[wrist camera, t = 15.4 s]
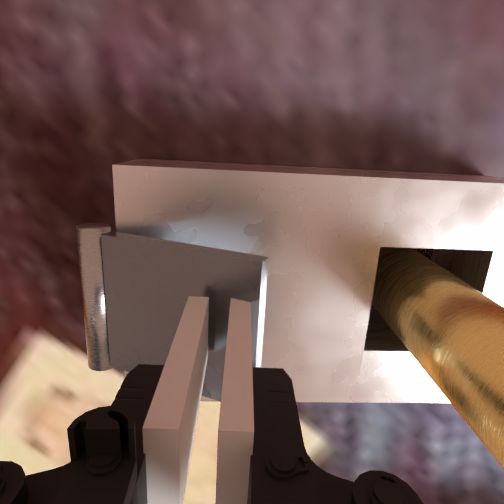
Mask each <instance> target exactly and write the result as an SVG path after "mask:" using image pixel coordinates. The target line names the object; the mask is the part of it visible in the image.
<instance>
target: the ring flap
mask: <svg viewBox="0 0 504 504" xmlns="http://www.w3.org/2000/svg"><path fill="white" fill-rule="evenodd" d="M76 234H77V245H78V256H79V267H80V278H81V289H82V300H83V311H84V322H85V333H86V344H87V355H88V365H89V368H90V369H92V370H95V371H104V370H109V369H111V368H113V367H114V368H117V369H120V370H124V371H127V372H130V371H131V370H133V369H134V368H135V367H136V366H137V365H138V364H150V365H165V363H166V360H167V357H168V354H169V351H170V348H171V346H172V343H173V340H174V337H175V334H176V331H177V328H178V326H179V323H180V320H181V317H182V314H183V311H184V309H185V306H186V303H187V300H188V297H189V296H196V297H209V316H208V359H207V365H206V371H205V377H204V383H203V389H202V394H201V396H204V397H208V398H211V399H214V400H217V401H220V402H221V396H222V385H223V375H224V364H225V354H226V343H227V333H228V322H229V311H230V301H231V298H234V299H238V300H243V301H247V302H251V331H252V367H259V368H261V360H262V346H263V331H264V316H265V301H266V287H267V272H268V257H265V256H259V255H253V254H247V253H241V252H235V251H229V250H223V249H217V248H211V247H205V246H199V245H193V244H187V243H181V242H175V241H169V240H163V239H158V238H152V237H146V236H140V235H134V234H128V233H122V232H116V231H111V225H110V224H108V223H100V222H93V223H83V224H79V225H77V226H76Z"/></svg>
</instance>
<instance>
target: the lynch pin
mask: <svg viewBox="0 0 504 504" xmlns="http://www.w3.org/2000/svg"><path fill="white" fill-rule="evenodd" d="M371 304H372V305H373V307H374V308H375V309H376V310H377V311H378V313H379V314H380V315H381V316H382V318H383V319H384V320H385V321H386V323H387V324H388V325H389V326H390V328H391V329H392V330H393V331H394V333H395V334H396V335H397V336H398V338H399V339H400V340H401V341H402V343H403V344H404V345H405V346H406V348H407V349H408V350H409V351H410V353H411V354H412V355H413V356H414V358H415V359H416V360H417V361H418V363H419V364H420V365H421V366H422V368H423V369H424V370H425V371H426V373H427V374H428V375H429V376H430V378H431V379H432V380H433V381H434V383H435V384H436V385H437V386H438V388H439V389H440V390H441V391H442V393H443V394H444V395H445V396H446V398H447V399H448V400H449V401H450V403H451V404H452V405H453V406H454V407H455V409H456V410H457V411H458V412H459V414H460V415H461V416H462V417H463V419H464V420H465V421H466V422H467V424H468V425H469V426H470V427H471V429H472V430H473V431H474V432H475V434H476V435H477V436H478V437H479V439H480V440H481V441H482V442H483V444H484V445H485V446H486V447H487V449H488V450H489V451H490V452H491V454H492V455H493V456H494V457H495V459H496V460H497V461H498V462H499V464H500V465H501V466H502V467H503V469H504V307H502V306H501V305H499V304H498V303H496V302H495V301H493V300H492V299H490V298H489V297H487V296H486V295H484V294H482V293H481V292H479V291H478V290H476V289H475V288H473V287H472V286H470V285H469V284H467V283H466V282H464V281H462V280H461V279H459V278H458V277H456V276H455V275H453V274H452V273H450V272H449V271H447V270H445V269H444V268H442V267H441V266H439V265H438V264H436V263H435V262H433V261H432V260H430V259H429V258H427V257H425V256H424V255H422V254H421V253H419V252H418V251H416V250H415V249H413V248H400V247H380V252H379V258H378V265H377V271H376V277H375V283H374V290H373V296H372V302H371Z"/></svg>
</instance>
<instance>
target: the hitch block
mask: <svg viewBox="0 0 504 504" xmlns="http://www.w3.org/2000/svg"><path fill="white" fill-rule="evenodd" d="M112 170H113V187H114V204H115V221H116V232H122V233H128V234H134V235H140V236H146V237H152V238H158V239H163V240H169V241H175V242H181V243H187V244H193V245H199V246H205V247H211V248H217V249H223V250H229V251H235V252H241V253H247V254H253V255H259V256H265V257H268V272H267V287H266V301H265V316H264V331H263V346H262V360H261V368H283V369H284V370H285V371H286V373H287V374H288V375H289V377H290V378H291V379H292V383H293V389H294V394H295V399H296V402H375V403H450V401H449V400H448V399H447V398H446V396H445V395H444V394H443V393H442V391H441V390H440V389H439V388H438V386H437V385H436V384H435V383H434V381H433V380H432V379H431V378H430V376H429V375H428V374H427V373H426V371H425V370H424V369H423V368H422V366H421V365H420V364H419V363H418V361H417V360H416V359H415V358H414V356H413V355H412V354H411V353H410V351H409V350H408V349H407V348H406V346H405V345H404V344H403V343H402V341H401V340H400V339H399V338H398V336H397V335H396V334H395V333H394V331H393V330H392V329H391V328H390V326H389V325H388V324H387V323H386V321H385V320H384V319H383V318H382V316H381V315H380V314H379V313H378V311H377V310H376V309H370V308H371V302H372V296H373V290H374V283H375V277H376V271H377V265H378V258H379V252H380V247H400V248H429V249H433V254H432V259H431V260H432V261H433V262H435V263H436V264H438V265H439V266H441V267H442V268H444V269H445V270H447V271H449V272H450V273H452V274H453V275H455V276H456V277H458V278H459V279H461V280H462V281H464V282H466V283H467V284H469V285H470V286H472V287H473V288H475V289H476V290H478V291H479V292H481V293H482V294H484V295H486V296H487V297H489V298H490V299H492V300H493V301H495V302H496V303H498V304H499V305H501V306H502V307H504V178H498V177H492V176H485V175H465V174H444V173H424V172H404V171H384V170H364V169H343V168H323V167H303V166H283V165H262V164H242V163H222V162H202V161H182V160H161V159H141V158H140V159H135V160H131V161H126V162H122V163H117V164H113V165H112ZM128 373H129V372H127V371H124V374H125V377H126V375H127V374H128ZM200 401H217V400H214V399H211V398H208V397H204V396H201V400H200Z"/></svg>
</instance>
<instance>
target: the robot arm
mask: <svg viewBox="0 0 504 504" xmlns="http://www.w3.org/2000/svg"><path fill="white" fill-rule="evenodd" d="M208 316H209V297H196V296H189V297H188V300H187V303H186V306H185V309H184V311H183V314H182V317H181V320H180V323H179V326H178V328H177V331H176V334H175V337H174V340H173V343H172V346H171V348H170V351H169V354H168V357H167V360H166V363H165V365H150V364H138V365H137V366H136V367H135V368H134V369H133V370H131V371H130V372H129V373H128V374H127V375H126V377H125V379H124V381H123V383H122V385H121V388H120V389H119V391H118V393H117V395H116V397H115V400H114V401H113V403H112V405H111V406H107V407H99V408H96V409H93V410H90V411H88V412H85V413H84V414H82V415H81V416H79V417H78V418H77V419H75V420H74V421H73V422H72V424H71V425H70V426H69V427H68V429H67V432H68V440H69V448H70V457H71V462H70V463H68V464H66V465H64V466H61V467H58V468H55V469H52V470H48V471H44V472H40V473H35V474H31V475H27V476H25V473H24V471H23V469H22V467H21V466H20V465H18V464H16V463H14V462H12V461H0V504H183V500H184V494H185V488H186V482H187V476H188V471H189V465H190V459H191V453H192V447H193V441H194V435H195V430H196V424H197V418H198V412H199V406H200V400H201V394H202V389H203V383H204V377H205V371H206V365H207V359H208ZM216 504H423V503H422V501H421V500H420V498H419V497H418V495H417V494H416V493H415V492H414V491H413V489H412V488H411V487H410V486H409V485H408V484H407V483H406V482H404V481H403V480H401V479H400V478H398V477H397V476H395V475H393V474H390V473H387V472H384V471H368V472H365V473H362V474H360V475H359V477H358V478H357V479H356V480H355V482H352V481H349V480H345V479H342V478H339V477H336V476H334V475H331V474H329V473H327V472H325V471H324V470H322V469H321V468H319V467H318V466H317V465H316V464H315V463H314V462H313V461H312V460H311V459H310V457H309V456H308V454H307V453H306V450H305V447H304V442H303V437H302V432H301V426H300V421H299V416H298V410H297V405H296V399H295V394H294V389H293V383H292V379H291V378H290V377H289V375H288V374H287V373H286V371H285V370H284V369H283V368H259V367H252V331H251V302H247V301H243V300H238V299H234V298H231V301H230V311H229V322H228V333H227V343H226V354H225V364H224V375H223V385H222V396H221V406H220V417H219V428H218V451H217V480H216Z"/></svg>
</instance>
